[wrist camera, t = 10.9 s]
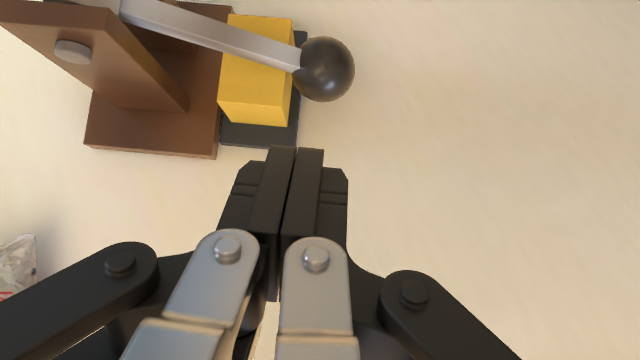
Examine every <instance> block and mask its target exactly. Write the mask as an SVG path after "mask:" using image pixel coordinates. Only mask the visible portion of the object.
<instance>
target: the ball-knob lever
mask: <svg viewBox="0 0 640 360" xmlns="http://www.w3.org/2000/svg"><path fill="white" fill-rule="evenodd" d="M43 2H51V3H62V4H74V5H85V6H96V7H108V8H110V9H111V10H112V11H113V12H114V14H115V15H116V16H117V17H118V18H119V19H120V20H121V21H123V22H126V23H129V24H133V25H136V26H139V27H142V28H146V29H149V30H152V31H155V32H159V33H162V34H165V35H169V36H172V37H175V38H178V39H182V40H185V41H188V42H191V43H195V44H198V45H201V46H205V47H208V48H211V49H214V50H218V51H221V52H224V53H227V54H231V55H234V56H237V57H240V58H244V59H247V60H250V61H254V62H257V63H260V64H263V65H267V66H270V67H273V68H276V69H280V70H283V71H286V72H289V73H291V75H292V79H293V82H294V84H295V86H296V88H297V89H298V90H299V92H300V93H301V94H302V95H304V96H305V97H307V98H308V99H310V100H313V101H317V102H329V101H333V100H335V99H338V98H339V97H341V96H342V95H343V94H344V93H345V92H346V91H347V90H348V89H349V87H350V86H351V84H352V82H353V79H354V74H355V64H354V60H353V57H352V55H351V53H350V51H349V50H348V48H347V47H346V46H345V45H344V44H343V43H342V42H340V41H338V40H337V39H334V38H331V37H326V36H321V37H315V38H312V39H310V40H308V41H306V42H305V43H303V44H302V45H301V46H300V47H299V48H297V47H294V46H291V45H288V44H285V43H282V42H279V41H276V40H273V39H270V38H267V37H264V36H261V35H258V34H255V33H252V32H249V31H246V30H244V29H241V28H238V27H235V26H232V25H229V24H226V23H223V22H220V21H217V20H214V19H211V18H208V17H205V16H202V15H199V14H196V13H193V12H190V11H188V10H185V9H182V8H179V7H176V6H173V5H170V4H167V3H164V2H161V1H158V0H43Z"/></svg>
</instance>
